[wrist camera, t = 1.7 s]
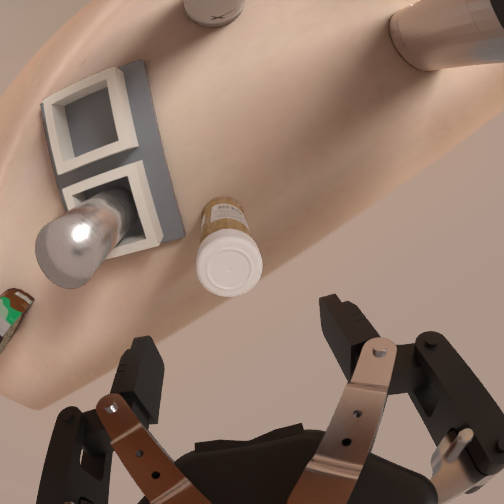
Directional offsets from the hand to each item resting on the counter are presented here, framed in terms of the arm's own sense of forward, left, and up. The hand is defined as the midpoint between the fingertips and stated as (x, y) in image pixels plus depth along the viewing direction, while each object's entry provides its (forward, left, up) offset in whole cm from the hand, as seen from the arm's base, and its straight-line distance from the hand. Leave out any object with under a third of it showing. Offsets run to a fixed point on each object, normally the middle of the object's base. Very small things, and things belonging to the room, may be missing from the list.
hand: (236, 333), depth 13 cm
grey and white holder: (+11, -9, -20) cm, 25 cm away
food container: (+35, +4, -21) cm, 41 cm away
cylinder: (+11, -4, -19) cm, 23 cm away
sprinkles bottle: (0, 0, -21) cm, 21 cm away
